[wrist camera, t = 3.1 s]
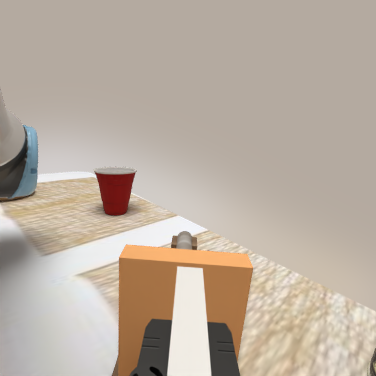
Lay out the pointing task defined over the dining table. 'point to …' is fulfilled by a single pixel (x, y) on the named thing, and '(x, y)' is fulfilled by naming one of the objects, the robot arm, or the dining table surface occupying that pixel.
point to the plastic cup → (115, 188)
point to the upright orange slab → (165, 292)
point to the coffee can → (372, 366)
